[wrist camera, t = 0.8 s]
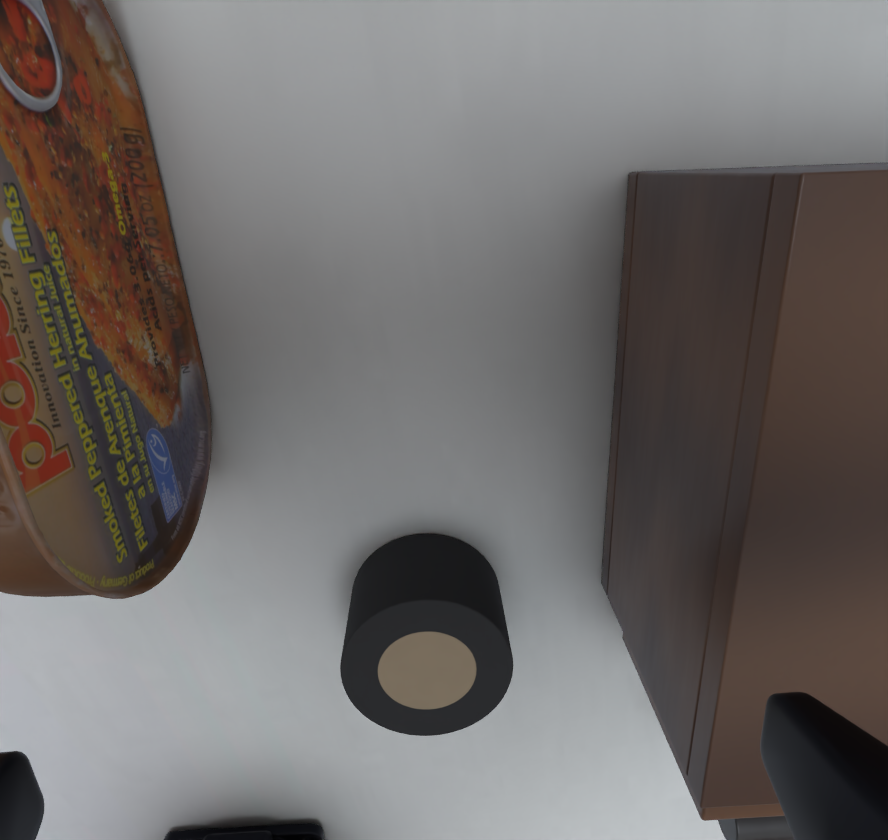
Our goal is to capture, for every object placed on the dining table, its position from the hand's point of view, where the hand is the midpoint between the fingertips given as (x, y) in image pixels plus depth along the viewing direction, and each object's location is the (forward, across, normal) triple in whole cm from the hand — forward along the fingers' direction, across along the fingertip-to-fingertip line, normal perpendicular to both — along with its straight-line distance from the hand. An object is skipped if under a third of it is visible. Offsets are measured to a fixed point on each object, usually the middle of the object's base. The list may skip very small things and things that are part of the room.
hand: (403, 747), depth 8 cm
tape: (+13, 0, +7) cm, 15 cm away
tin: (+13, +8, -5) cm, 16 cm away
